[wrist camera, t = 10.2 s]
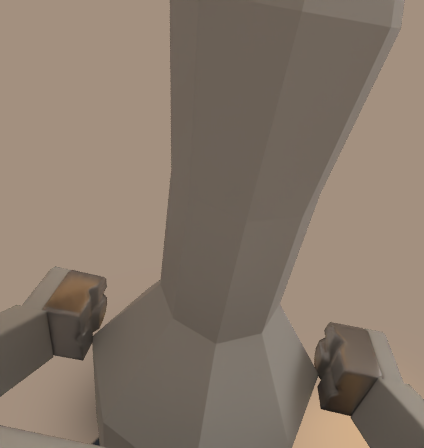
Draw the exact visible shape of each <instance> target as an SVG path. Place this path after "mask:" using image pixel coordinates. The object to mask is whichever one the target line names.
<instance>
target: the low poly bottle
mask: <svg viewBox="0 0 424 448" xmlns="http://www.w3.org/2000/svg"><path fill="white" fill-rule="evenodd" d="M404 1H405V0H170V69H171V165H172V166H171V168H172V169H171V179H170V189H169V199H168V209H167V221H166V230H165V241H164V252H163V261H162V272H161V280H159V281H158V282H157V283H155V284H154V285H152V286H151V287H150V288H148V289H147V290H146V291H145V292H144V293H142V294H141V295H140V296H139V297H138V298H137V299H135V300H134V301H133V302H132V303H131V304H130V305H129V306H127V307H126V308H125V309H124V310H123V311H122V312H120V313H119V314H118V315H117V316H116V317H115V318H113V319H112V320H111V321H110V322H109V323H108V324H106V325H105V326H104V327H103V328H102V329H101V330H99V331H98V332H97V333H96V334H95V335H94V336H93V342H92V344H93V362H94V379H95V398H96V414H97V423H98V431H99V440H100V446H102V447H107V448H292V446H293V443H294V440H295V438H296V435H297V432H298V430H299V427H300V424H301V421H302V419H303V416H304V413H305V410H306V407H307V405H308V402H309V399H310V397H311V394H312V391H313V389H314V385H315V383H316V380H317V378H318V375H319V374H318V372H317V371H316V369H315V367H314V365H313V364H312V362H311V360H310V358H309V356H308V354H307V353H306V351H305V349H304V347H303V346H302V343H301V342H300V340H299V338H298V336H297V334H296V333H295V331H294V329H293V327H292V325H291V324H290V322H289V320H288V318H287V316H286V315H285V313H284V311H283V309H282V307H281V305H280V302H281V299H282V296H283V294H284V291H285V288H286V285H287V283H288V280H289V277H290V275H291V272H292V269H293V266H294V264H295V261H296V258H297V256H298V253H299V250H300V247H301V244H302V242H303V239H304V236H305V234H306V231H307V228H308V226H309V223H310V220H311V217H312V215H313V212H314V209H315V206H316V204H317V201H318V199H319V196H320V193H321V191H322V189H323V187H324V185H325V183H326V181H327V179H328V177H329V175H330V173H331V171H332V169H333V167H334V165H335V163H336V161H337V158H338V156H339V154H340V152H341V150H342V148H343V146H344V144H345V142H346V140H347V138H348V136H349V134H350V132H351V130H352V128H353V126H354V124H355V121H356V120H357V118H358V116H359V113H360V111H361V109H362V107H363V105H364V103H365V101H366V99H367V97H368V95H369V93H370V91H371V89H372V87H373V85H374V83H375V81H376V78H377V77H378V74H379V72H380V70H381V68H382V66H383V64H384V62H385V60H386V58H387V56H388V54H389V52H390V50H391V48H392V46H393V43H394V42H395V40H396V37H397V35H398V33H399V31H400V29H401V24H402V16H403V9H404Z"/></svg>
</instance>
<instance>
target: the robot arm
mask: <svg viewBox="0 0 424 448" xmlns="http://www.w3.org/2000/svg"><path fill="white" fill-rule="evenodd" d="M106 287H107V285H106V278H104V277H101V276H97V275H92V274H88V273H83V272H78V271H74V270H68V269H64V268H60V267H54V268H52V269H51V270H50V271H49V272H48V273H47V275H46V276H45V277H44V278H43V280H42V281H41V282H40V283H39V285H38V286H37V287H36V288H35V290H34V291H33V292H32V294H31V295H30V296H29V297H28V299H27V300H26V301H25V302H24V304H23V305H22V306H19V305H15V306H13V307H11V308H9V309H7V310H5V311H3V312H1V313H0V396H2V395H3V394H4V393H6V392H7V391H8V390H10V389H11V388H13V387H14V386H15V385H16V384H18V383H19V382H21V381H22V380H23V379H25V378H26V377H27V376H29V375H30V374H31V373H33V372H34V371H35V370H37V369H38V368H39V367H41V366H42V365H43V364H45V363H46V362H47V361H49V360H50V359H51V358H53V355H55V356H61V357H66V358H72V359H78V360H84V358H85V355H86V354H87V352H88V350H89V348H90V346H91V344H92V342H93V332H94V331H96V330H97V329H99V328H100V326H101V323H102V321H103V319H104V315H105V312H106V306H107V297H106V296H105V295H104V294H103V293H104V291H105V289H106ZM314 365H315V369H316V371H317V372H318V374H319V375H318V376H319V378H320V379H321V381H320V383H319V385H318V393H319V400H320V407H321V409H323V410H327V411H331V412H336V413H340V414H344V415H349V416H351V419H352V420H353V422H354V424H355V425H356V427H357V428H358V430H359V431H360V433H361V434H362V436H363V438H364V439H365V441H366V442H367V444H368V445H369V447H370V448H424V399H423V398H422V397H421V396H420V395H419V394H418V393H417V392H416V391H415V390H414V389H413V388H412V387H411V386H410V385H409V384H405V383H404V382H403V380H402V377H401V375H400V372H399V369H398V367H397V364H396V361H395V359H394V356H393V353H392V351H391V348H390V346H389V343H388V340H387V338H386V335H385V334H384V333H383V332H380V331H374V330H369V329H363V328H359V327H353V326H347V325H343V324H338V323H332V322H330V323H329V324H328V325H327V327H326V328H325V338H323V339H321V340H320V341H319V343H318V345H317V347H316V351H315V359H314ZM0 448H107V447H102V446H97V445H92V444H88V443H83V442H78V441H73V440H68V439H64V438H58V437H54V436H49V435H44V434H40V433H35V432H30V431H25V430H20V429H15V428H11V427H6V426H1V425H0Z"/></svg>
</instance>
